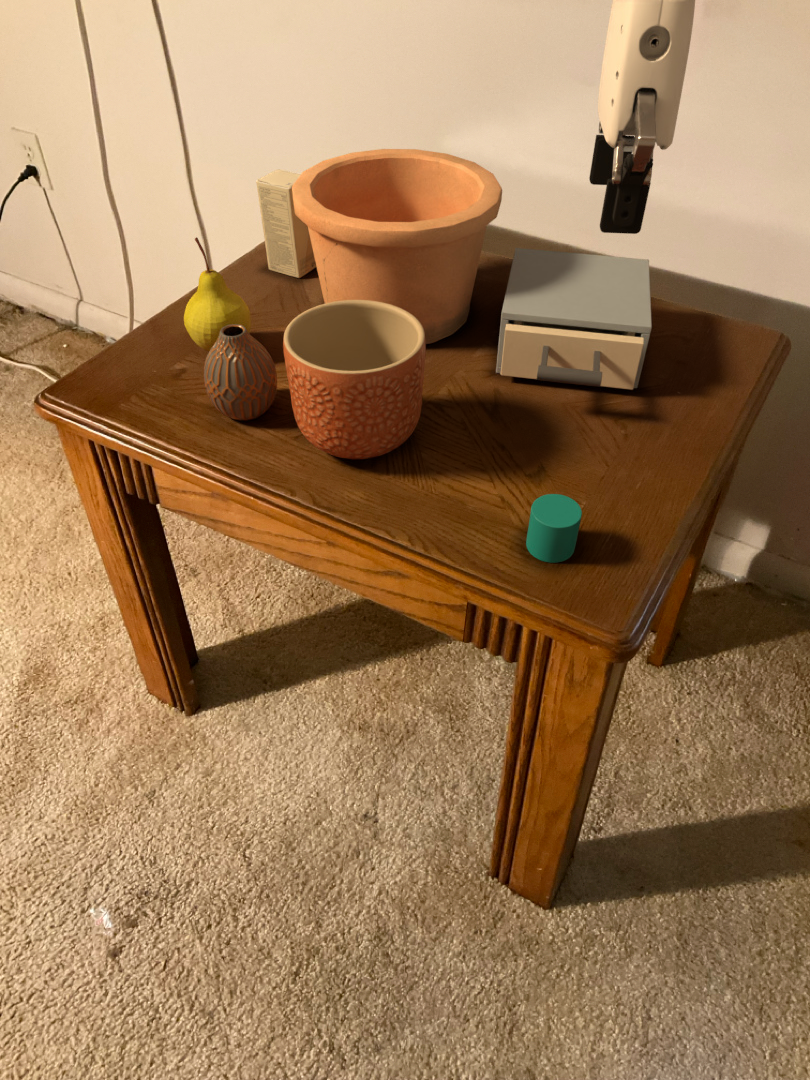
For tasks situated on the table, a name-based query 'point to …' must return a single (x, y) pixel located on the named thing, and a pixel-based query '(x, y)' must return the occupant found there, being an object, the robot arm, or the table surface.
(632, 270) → the grey cabinet
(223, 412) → the vase
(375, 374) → the planter
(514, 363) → the drawer
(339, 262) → the pottery
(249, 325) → the fruit
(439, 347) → the table surface
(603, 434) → the table surface
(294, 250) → the box
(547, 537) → the cylinder
